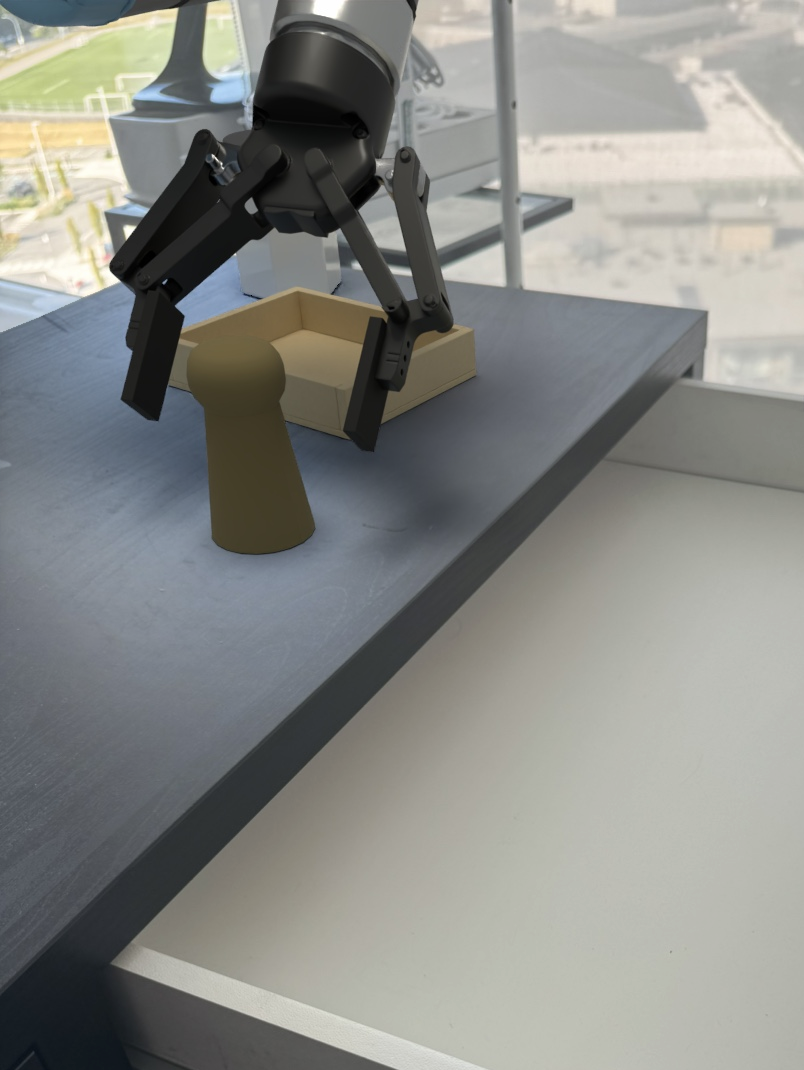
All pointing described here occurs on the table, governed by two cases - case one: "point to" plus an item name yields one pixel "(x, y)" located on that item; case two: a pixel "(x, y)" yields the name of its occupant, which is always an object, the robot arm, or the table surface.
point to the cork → (248, 446)
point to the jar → (285, 256)
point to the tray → (331, 354)
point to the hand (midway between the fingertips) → (246, 427)
